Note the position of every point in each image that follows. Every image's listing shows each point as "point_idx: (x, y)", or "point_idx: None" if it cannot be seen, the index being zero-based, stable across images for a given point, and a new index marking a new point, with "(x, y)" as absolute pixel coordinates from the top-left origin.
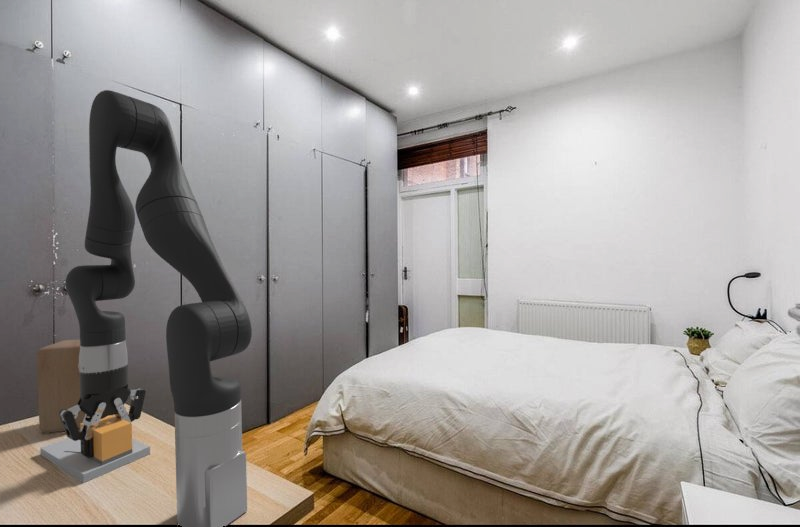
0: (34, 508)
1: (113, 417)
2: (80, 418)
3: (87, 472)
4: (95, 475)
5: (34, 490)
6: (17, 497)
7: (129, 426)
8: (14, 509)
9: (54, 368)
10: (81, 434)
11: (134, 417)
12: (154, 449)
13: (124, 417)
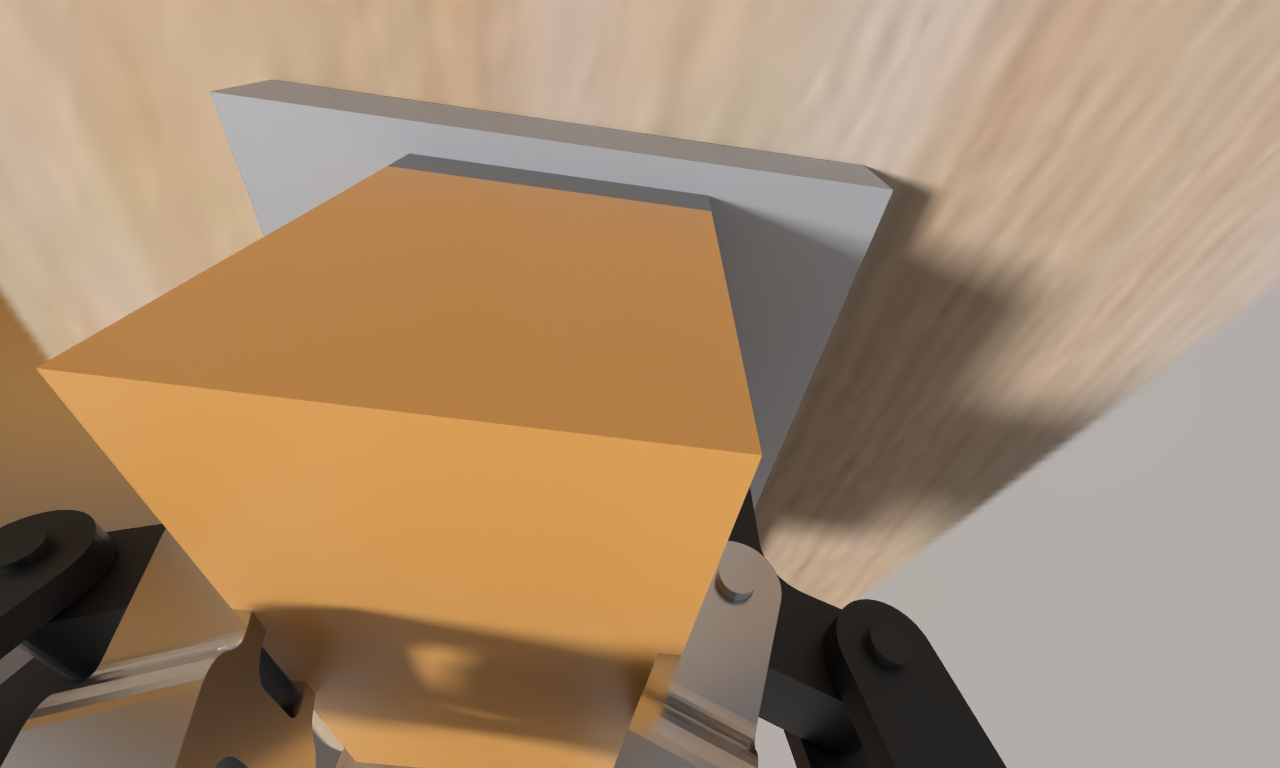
0: (1261, 149)
1: (343, 710)
2: None
3: (851, 197)
4: (778, 160)
5: (973, 402)
6: (1050, 412)
7: (158, 329)
8: (1223, 290)
9: None
10: (805, 661)
11: (75, 558)
12: (221, 136)
13: (187, 638)
